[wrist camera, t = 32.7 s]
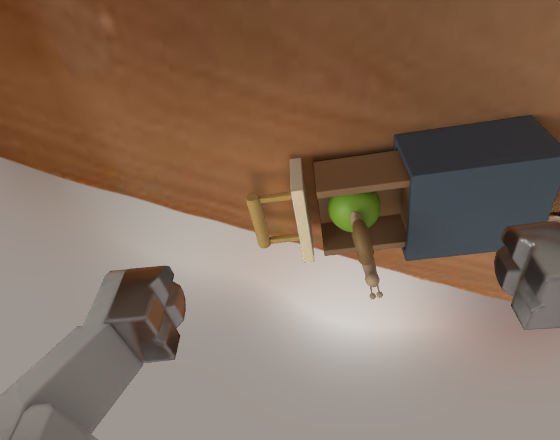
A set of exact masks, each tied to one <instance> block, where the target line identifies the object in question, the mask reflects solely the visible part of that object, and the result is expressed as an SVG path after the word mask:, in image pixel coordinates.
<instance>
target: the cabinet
mask: <svg viewBox="0 0 560 440" xmlns="http://www.w3.org/2000/svg"><path fill="white" fill-rule="evenodd" d="M397 150H398V151H399V153H400V155H401V158H402V160H403V162H404V165H405V167H406V169H407V172H408V174H409V176H410V188H409V202H408V216H407V230H406V244H405V247H402V251H403V254H404V256H405V260H406V261H411V260H421V259H430V258H439V257H449V256H458V255H467V254H476V253H486V252H495V251H498V250H499V249H500V248H502V247H503V246H504V243H503V242H502V240H501V236H502V233H503V230H504V229H505V228H506V227H507V226H514V225H522V224H530V223H538V222H546V221H547V219H548V216H549V214H550V211H551V209H552V206H553V204H554V201H555V199H556V196H557V194H558V191H559V189H560V143H559V142H558V141H557V140H556V139H555V138H554V137H553V136H552V135H551V134H550V133H549V132H548V131H547V130H546V129H545V128H544V127H542V126H541V125H540V124H539V123H538V122H537V121H536V120H535V119H534V118H533V117H532V116H531V115H530V116H523V117H516V118H509V119H502V120H495V121H488V122H481V123H474V124H467V125H460V126H453V127H446V128H439V129H432V130H426V131H419V132H412V133H405V134H398V135H394V151H397Z"/></svg>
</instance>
